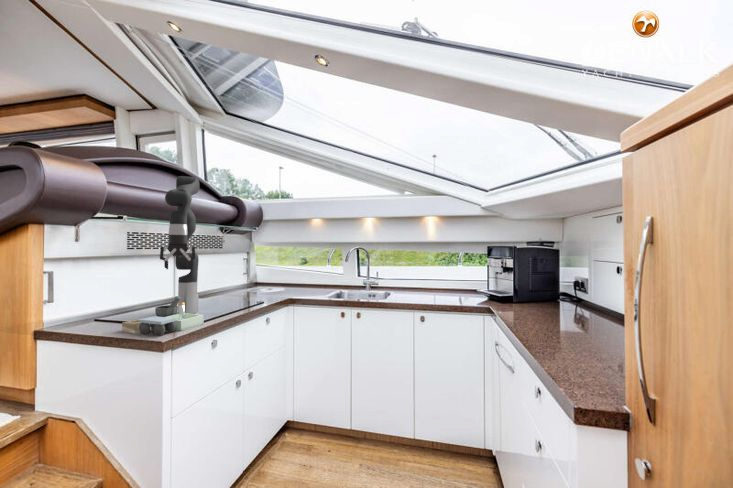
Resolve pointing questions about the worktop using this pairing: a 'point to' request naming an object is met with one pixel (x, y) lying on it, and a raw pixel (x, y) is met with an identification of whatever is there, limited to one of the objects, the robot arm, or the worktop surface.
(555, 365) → the worktop surface
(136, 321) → the stop block
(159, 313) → the mortar and pestle
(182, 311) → the stop pin
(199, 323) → the tray
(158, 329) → the trolley
